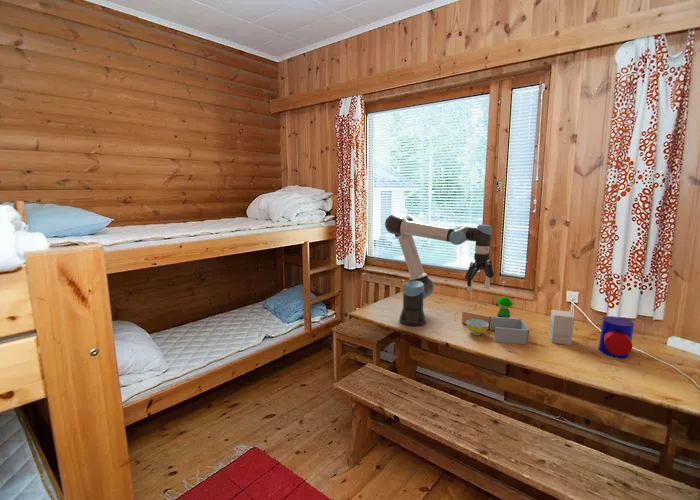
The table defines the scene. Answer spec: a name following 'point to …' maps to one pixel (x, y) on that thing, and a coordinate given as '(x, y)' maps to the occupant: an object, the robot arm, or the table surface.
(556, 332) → the supplement box
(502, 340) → the box
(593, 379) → the table surface
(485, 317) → the door
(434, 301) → the table surface
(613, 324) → the cylinder
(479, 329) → the bowl
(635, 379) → the table surface
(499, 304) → the toy
